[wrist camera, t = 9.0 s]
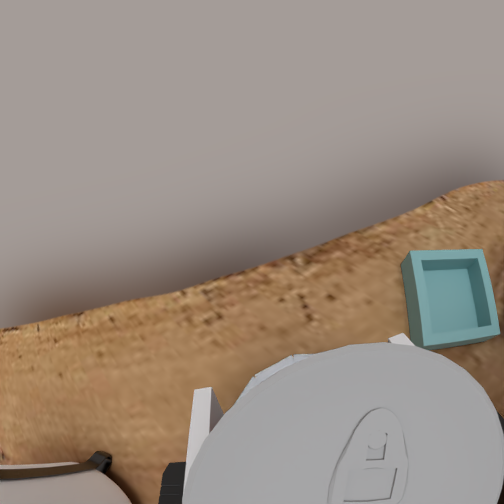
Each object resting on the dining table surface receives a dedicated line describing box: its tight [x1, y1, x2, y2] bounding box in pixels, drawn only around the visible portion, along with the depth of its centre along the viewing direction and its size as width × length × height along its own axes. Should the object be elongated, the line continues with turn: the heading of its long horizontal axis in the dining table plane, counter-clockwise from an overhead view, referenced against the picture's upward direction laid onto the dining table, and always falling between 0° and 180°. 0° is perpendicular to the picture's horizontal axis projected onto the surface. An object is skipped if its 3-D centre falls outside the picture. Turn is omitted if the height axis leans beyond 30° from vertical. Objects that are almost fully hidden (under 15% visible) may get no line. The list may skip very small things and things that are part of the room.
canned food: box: [182, 342, 504, 504], centre depth 9 cm, size 8×8×11 cm
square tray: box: [401, 249, 500, 350], centre depth 25 cm, size 9×9×3 cm
